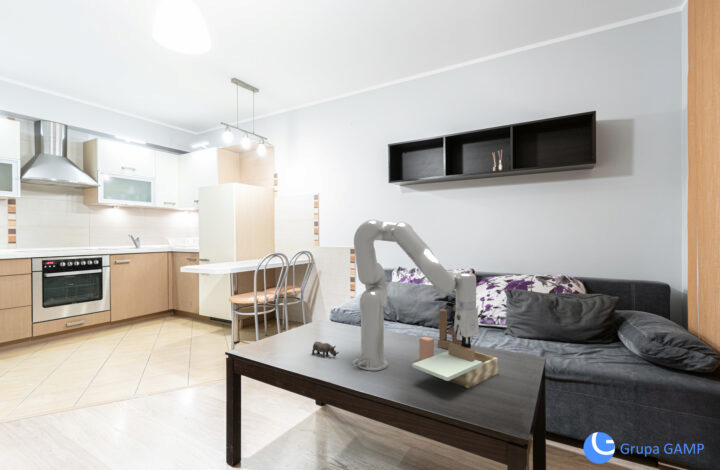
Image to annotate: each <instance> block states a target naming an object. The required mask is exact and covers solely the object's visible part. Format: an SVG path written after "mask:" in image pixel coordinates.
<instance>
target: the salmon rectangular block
mask: <svg viewBox="0 0 720 470" xmlns="http://www.w3.org/2000/svg"><path fill="white" fill-rule="evenodd" d="M418 341H419V343H418V344H419V348H418V349H419V350H418V351H419V353H418V354H419V361H421V360H424V359H427V358H430V357H432V356H435V338H432V337H428V336H422V337H419V340H418Z"/></svg>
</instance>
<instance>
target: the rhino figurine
mask: <svg viewBox="0 0 720 470" xmlns="http://www.w3.org/2000/svg"><path fill="white" fill-rule="evenodd" d="M335 348H336V345H334V346H333V345H331V344H330V343H328V342H321V341H315V342H314V343H313V345H312V350H311V355H313V356H315V352H316V354H317V355H321V354H322V355H321V357H322V358H325V357H330V355H332V356H333V357H336V356H337V355H339V352H340V351H337V350H335Z"/></svg>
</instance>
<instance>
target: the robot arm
mask: <svg viewBox="0 0 720 470" xmlns="http://www.w3.org/2000/svg"><path fill="white" fill-rule="evenodd" d="M375 241H382V242H392V243H396V244H397V245H398V246H399V247H400V248H401V249H402V251H403V252H405V254H406V255H407V256H408V258H409V259H410V260H412V262H413V263H414V265H415V266H416V267H417V268H418V270H420V271H421V273H422V274H423V276H424V277H425V278H426V279H427V280H428V281H429V283H431V285H432V286H433V287H434V288H435V289H436V290H437V291H438V292H439V293H442V294H450V293H453V291H455V311H454V312H455V315H454V325H453V326H454V331H455V335H457V340H460V342H461V346H463V347H467V348H470V349H472V341H473V337H474V336H476V335H478V334H479V332H480V331H479V327H480V326H479V314H478V309H477V276H476V275H475V273H471V272H459V273H458V272H453V271H451V272H450V271H447V269H446V268H445V266H443V265H442V263H441V262H440V261H439V260H438V259H437V257H436V256H435V255H434V253H433V251H432V249H431V248H430V247H429V245H427V243H426V242H425V241H424V240H423V239H422V237H420V236H419V234H417V232H416V231H415V230H414V229H413V227H412V226H411V225H410V224H409V223H406V222H404V221H399V222H390V221H389V222H388V221H381V220H378V219H369V220H366V221H364V222H362V224H360V226H359V227H358V228H356V230H355V233H354V236H353V248H354V253H355V263H356V268H357V269H356V270H357V276H358V277H357V278H358V280H359V282H360V283H361V284H362V285H364V286H365V290H364V291H363V292H362V293H361V295H360V297H359V311H360V353H359V354H358V357H357V358H354V359H352V360H351V365H353V366H354V365H357V366H358V368H359V369H362V370H365V371H372V372H373V371H374V372H375V371H376V372H377V371H381V370H384V369H386V368H387V367H388V365H389V362H388V361H387V359H385V317H384V315H385V314H384V306H385V304H386V303H387V301H388V295H389V294H388V289H387V282H386V276H385V270H384V267H383V266H382V265H381V264H380V263H379V262H378V259H377V254H376V249H375V246H374V244H375Z"/></svg>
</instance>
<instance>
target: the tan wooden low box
mask: <svg viewBox="0 0 720 470" xmlns="http://www.w3.org/2000/svg"><path fill="white" fill-rule="evenodd" d="M475 360H478V361H481V362H482V366H480V367H478V368H475V369H473V370H471V371H469V372H467V373H464V374H462V375H460V376H458V377H455V378H453V379H451V380H449V381H448V382H450V383H451V382H452V383H453V384H457V385H459V386H462V387H464V388H466V389H470V388H473V387H474V386H476V385H478V384H480V383H482V382H484V381H486V380H488V379H490V378H491V377H492V378H493V377H494V376H496V375H497V374H498V375H499V373H498V372H499V371H498V369H499V368H498V364H499V363H498V362H499V361H498V360H499V358H498V357H495V356H492V355H489V354H485V353H482V352H478V351H475Z"/></svg>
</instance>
